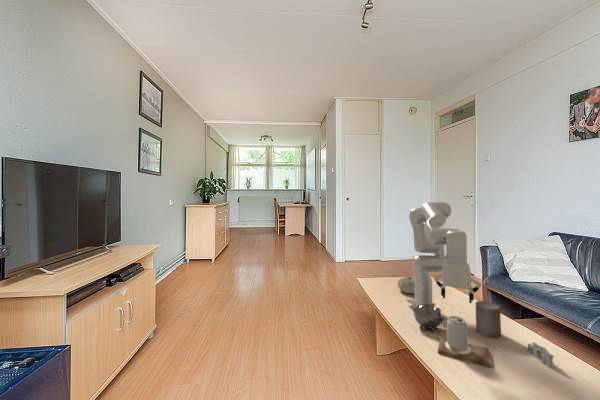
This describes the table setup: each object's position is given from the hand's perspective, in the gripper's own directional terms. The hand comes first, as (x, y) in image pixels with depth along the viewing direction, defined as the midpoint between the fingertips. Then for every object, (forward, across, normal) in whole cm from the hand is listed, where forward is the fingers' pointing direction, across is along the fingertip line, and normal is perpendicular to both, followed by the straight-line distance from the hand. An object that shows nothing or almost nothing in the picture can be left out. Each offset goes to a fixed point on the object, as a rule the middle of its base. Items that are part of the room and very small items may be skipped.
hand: (456, 299), depth 109 cm
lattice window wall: (+22, +28, +11) cm, 37 cm away
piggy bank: (+22, -13, +16) cm, 30 cm away
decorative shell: (+23, -29, +65) cm, 74 cm away
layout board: (+22, +2, 0) cm, 22 cm away
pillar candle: (+22, +12, +25) cm, 35 cm away
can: (+20, 0, 0) cm, 20 cm away
